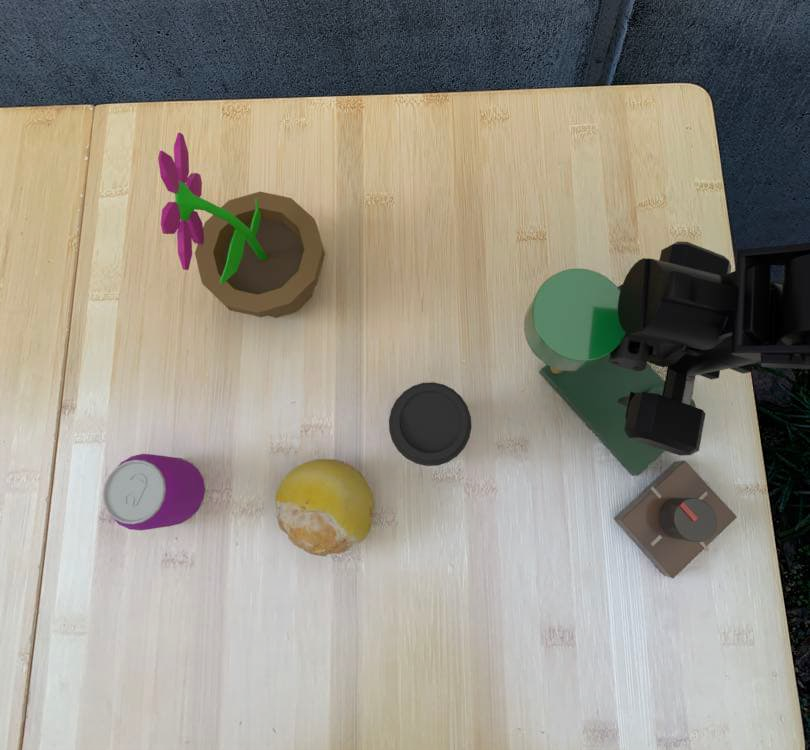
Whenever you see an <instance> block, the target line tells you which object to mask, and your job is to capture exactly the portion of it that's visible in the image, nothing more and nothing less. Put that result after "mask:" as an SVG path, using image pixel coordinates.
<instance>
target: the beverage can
mask: <svg viewBox="0 0 810 750" xmlns="http://www.w3.org/2000/svg"><path fill="white" fill-rule="evenodd" d="M205 490H206V487H205V480H204V477H203V475H202V473H201V472H200V470H199V468H198V467H196V466H195V465H194V464H193V462H190V461H188V460H186V459H184V458H182V457H174V456H167V455H159V454H151V453H140V454H136V455H132V456H130V457H128V458H126V459H125V460H123V461H121V462H120V463H119V464H118V465H117V466H116V467H115V468H114V469H113V470H112V471H111V472H110V473H109V474H108V476H107V478H106V480H105V481H104V484H103V489H102V501H103V505H104V507H105V509H106V512H107V514H109V516H110V517H111V518H112V519H113V520H114V521H115V522H116V523H117V524H118V526H119V525H120V526H122V527H124V528H126V529H127V530H133V531H146V530H147V531H148V530H154V529H160V528H167V527H172V526H176V525H181V524H182V523H184V522H187V521H188V520H189V519H191V518H192V517H193V516H194V515H195V514H196V513H197V512H198V511H199V510H200V507H201V505H202V503H203V502H204V497H205Z"/></svg>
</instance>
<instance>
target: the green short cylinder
mask: <svg viewBox="0 0 810 750" xmlns="http://www.w3.org/2000/svg"><path fill="white" fill-rule="evenodd" d="M618 287H619V286H617V285H616V284H615V283H614V282H613V281H612V280H611V279H609V278H608V277H606V275H603V274H601V273H600V272H597V271H594V270H591V269H587V268H568V269H565V270H561V271H558V272H557V273H555V274H553V275H551V276H550V277H549V278H548V279H546V280H545V281H544V282H543V283H542V285H541V286H540V287H539V289H538V290H537V292H536V293H535V295H534V297H533V299H532V300H531V302H530V303H529V305H528V307H527V309H526V312H525V315H524V318H523V332H524V337H525V340H526V343H527V345H528V346H529V348H530V350H531V352H532V353H533V355H534V356H535V357H537V358H538V359H539V361H541V362H542V363H544V364H545V365H549V366H551V367H553V368H555V369H559V370H564V371H578V370H582V369H586V368H588V367H590V366H592V365H594V364H595V363H597V362H598V361H600V360H601V359H602V358H604V357H605V356H607V355H608V354H610V353H611V352H612V351H613V350H615V349H616V348H617V347H618V346H619V344H620V342H621V339H622V338H624V336H625V334H626V332H625V331H624V330H623V329H622V328H621V325H620V323H619V318H618V300H619V295H620V290H619V289H618Z"/></svg>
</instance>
